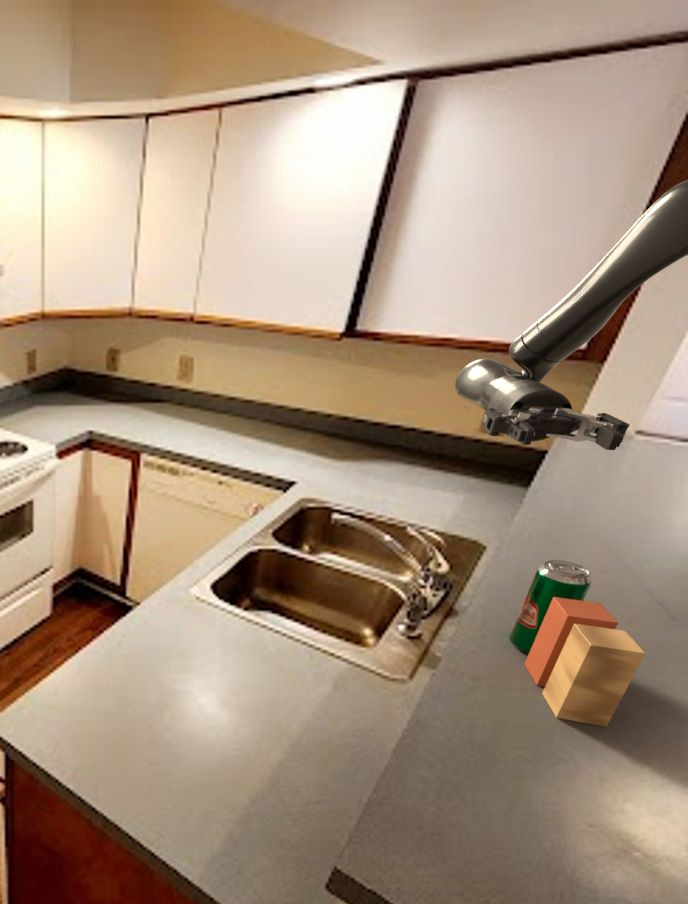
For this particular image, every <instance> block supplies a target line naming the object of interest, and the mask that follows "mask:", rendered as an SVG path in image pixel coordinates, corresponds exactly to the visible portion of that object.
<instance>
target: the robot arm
mask: <svg viewBox="0 0 688 904" xmlns="http://www.w3.org/2000/svg"><path fill="white" fill-rule="evenodd" d="M687 256H688V179H686V180H684V181H681V182H680V183H679V182H678V183H677V184H676V185H674V186H673V187H671V188H670V189H669V190H667V191H665V192H664V193H663V194H662V195H661V196H660V197H658V198H657V199H656V200H655V201H654V202H653V203H652V205H650V206H649V208H648V209H647V210H646V211H644V213H642V215H641V216H640V217H639V218H638V219H637V220H636V221H635V223H634V224H632V226H631V227H630V228H629V229H628V231H626V233H625V234H624V235H622V237H621V239H619V241H618V242H617V243H616V244H615V245H614V246H613V247H612V248H611V249H610V250H609V251H608V252H607V253H606V255H604V257H603V258H602V259H601V260H600V261H599V262H598V263H597V264H596V265H595V266H594V267H593V269H592V270H590V271H589V272H588V274H586V275H585V277H583V278H582V279H581V281H580V282H579V283H578V284H577V285H576V286H574V287H573V288H572V289H571V290H570V291H569V292H568V293H567V294H566V295H565V296H564V297H563V298H562V299H560V300H559V301H558V302H557V303H556V304H555V305H554V306H552V307H551V308H550V309H549V310H548V311H546V312H545V313H544V314H543V315H541V317H540V318H539V319H537V320H536V321H535V322H534V323H532V324H531V325H530V326H529V327H528V328H527V329H526V330H524V331H523V332H522V333H521V334H519V335H518V336H517V337H516V338H515V339H514V340H513V341H512V342H511V344H510V345H509V348H508V354H509V356H510V358H511V359H512V360H513V362H515V364H517V366H519V367H520V368H521V369H522V370H518V369H516V368H514V367H511V366H509V365H506V364H505V363H502V362H500V361H497V360H496V359H493V358H487V357H485V358H484V357H483V358H479V359H476V360H473V361H471V362H470V363H468V364H466V365H465V366H464V367H463V368H462V369H461V370H460V372H458V375H457V376H456V379H455V386H454V387H455V391H456V393H457V394H458V396H460V397H461V398H463V399H464V400H466V401H468V402H470V403H472V404H474V405H475V406H478V407H479V408H481V409H482V410H484V411H485V412H484V415H483V417H482V421H481V424H480V427H482V428H483V430H484V431H485V432H486V433H487V435H489V436H491V437H499V436H500V434H505V438H508V439H513V440H515V441H517V442H519V443H520V444H521V445H522V446H530V445H531V444H532V442H540V441H544V440H547V439H550V438H553V439H558V438H560V439H564V440H568V441H573V442H577V443H578V442H584V441H589V442H594V443H595V444H596V445H598V446H599V447H601V448H603V449H604V450H606V451H616V450H617V448H620V446H621V443H623V441H624V438H625V435H626V433H627V431H628V429H629V427H630V424H629V423H628V422H627V421H624V420H622V419H619V418H617V417H616V416H614V415H611V414H609V413H607V412H600V413H599V412H598V413H597V414H596V416H595V415H592V414H587V413H582V412H577V411H574V410H573V406H572V403H571V401H570V400H569V399H568V397H567V396H565V395H564V394H563V393H561V392H559V391H557V390H555V389H553V388H552V387H550V386H548V385H546V384H544V383H543V380H544V379H545V378H546V377H547V376H548V375H549V374H550V372H552V371H553V370H554V369H555V367H557V366H558V365H559V364H560V363H561V362H562V361H565V359H566V358H568V357H569V356H570V355H572V354H573V353H575V352H576V351H577V350H578V349H580V348H581V347H583V346H584V345H585V344H586V343H587V342H589V341H590V340H591V339H593V338H594V337H595V336H596V335H597V334H598V333H599V332H600V331H601V330H602V329H603V328H604V327H605V326H606V324H607V323H608V322H609V321H610V320H611V318H612V317H613V316H614V314H615V313H616V312H617V310H618V309H619V308H620V307H621V305H622V304H623V303H624V301H626V300H627V298H628V297H630V295H632V293H633V292H635V291H636V290H637V289H638V288H639V287H641V286H642V285H643V284H644V283H646V282H647V281H648V280H650V279H651V278H652V277H654V276H655V275H657V274H658V273H660V272H662V271H663V270H665V269H666V268H668V267H669V266H671V265H672V264H674V263H676V262H678V261H679V260H681V259H683V258H685V257H687ZM575 432H576V434H574V433H575ZM594 434H595V435H594Z"/></svg>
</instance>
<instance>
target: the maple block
mask: <svg viewBox="0 0 688 904" xmlns="http://www.w3.org/2000/svg"><path fill="white" fill-rule="evenodd" d="M645 655H646V652H645V651H644V650H643V648H641V647H640V646H639V644H638V643H637V642H636V641H635V640H634V639H633V638H632V636H631V635H630V634H629V633H628V632H627V631H626V630H622V629H616V628H615V629H609V628H602V627H595V626H588V625H581V624H574V625H573V627H572V629H571V631H570V634H569V636H568V638H567V640H566V642H565V645H564V647H563V649H562V651H561V653H560V656H559V658H558V660H557V662H556V664H555V666H554V669H553V671H552V673H551V675H550V677H549V680H548V682H547V684H546V686H545V687H544V689H543V690H542V692H541V694H542V697H543V698H544V699H545V701H546V703H547V704H548V706H549V708H550V709H551V711H552V713H553V714H554V717H555V718H556V719H561V720H566V721H573V722H577V723H582V724H586V725H587V724H588V725H593V726H598V727H604V728H607V727H608V725H609V723H610V722H611V719H612V717H613V716H614V713H615V712H616V710H617V708H618V706H619V704H620V703H621V701H622V699H623V697H624V695H625V693H626V691H627V689H628V687H629V686H630V684H631V682H632V680H633V678H634V676H635V674H636V672H637V670H638V668H639V666H640V665H641V663H642V661H643V659H644V657H645Z"/></svg>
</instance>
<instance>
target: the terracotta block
mask: <svg viewBox="0 0 688 904" xmlns="http://www.w3.org/2000/svg"><path fill="white" fill-rule="evenodd" d="M618 623H619V622H618V621H617V620H616V619H615V617H614V616H613V615H612V614H611V613H610V612H609V611H608V610H607V609H606V607H605V606H604V605H603V604H602V603H601V602H596V601H595V602H594V601H587V600H583V601H580V600H573V599H565V598H557V597H553V599H552V601H551V604H550V606H549V608H548V611H547V613H546V615H545V618H544V620H543V622H542V625H541V627H540V629H539V631H538V634H537V636H536V638H535V641H534V643H533V645H532V648H531V650H530V652H529V654H527V657H526V659H525V662H524V666H525V668H526V669H527V671H528V674H529V675H530V676H531V678H532V680H533V681H534V682H535V685H536V686H539V687H544V688H545V686H546V684H547V682H548V680H549V677H550V675H551V673H552V671H553V669H554V666H555V664H556V662H557V660H558V658H559V656H560V653H561V651H562V649H563V647H564V645H565V642H566V640H567V638H568V636H569V634H570V631H571V629H572V627H573V625H574V624H581V625H588V626H595V627H602V628H609V629H616V628H617V627H618Z"/></svg>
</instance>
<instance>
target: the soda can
mask: <svg viewBox="0 0 688 904" xmlns="http://www.w3.org/2000/svg"><path fill="white" fill-rule="evenodd" d="M591 575H592V572H591V570H589V569H588V568H587V567H585V566H583V565H581V564H578V563H575V562H572V561H568V560H561V559H548V560H545V561H544V562H543V564H542V565H540V566H538V568H537V569H536V571H535V574H534V576H533V579H532V581H531V582H530V586H529V588H528V591H527V593H526V596H525V598H524V600H523V603H522V605H521V608H520V610H519V612H518V615H517V618H516V620H515V623H514V625H513V628H512V630H511V632H510V634H509V641H510V642H511V645H512V646H513V647H515V649H517V650H518V651H520V652H522V653H525V654H527V655H529V652H530V650H531V648H532V645H533V643H534V641H535V638H536V636H537V634H538V631H539V629H540V627H541V625H542V622H543V620H544V618H545V615H546V613H547V611H548V608H549V606H550V604H551V601H552V599H553V597H557V598H565V599H573V600H580V601H585V598H586V596H587V593H588V591H589V589H590V587H591V585H592V579H591Z"/></svg>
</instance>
